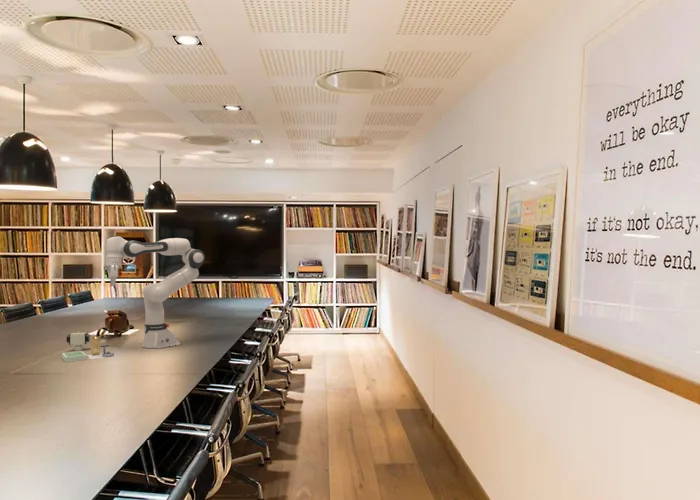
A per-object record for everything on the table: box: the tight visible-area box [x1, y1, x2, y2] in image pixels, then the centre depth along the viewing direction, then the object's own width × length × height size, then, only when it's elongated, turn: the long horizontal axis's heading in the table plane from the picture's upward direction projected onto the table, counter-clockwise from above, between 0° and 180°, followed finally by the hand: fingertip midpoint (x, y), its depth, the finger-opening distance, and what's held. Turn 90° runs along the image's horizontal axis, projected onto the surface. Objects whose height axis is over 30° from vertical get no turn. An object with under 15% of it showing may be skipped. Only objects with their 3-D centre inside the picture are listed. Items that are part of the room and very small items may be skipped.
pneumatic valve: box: [66, 330, 91, 352], centre depth 289 cm, size 6×12×12 cm, turn 107°
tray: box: [61, 350, 88, 363], centre depth 267 cm, size 10×12×4 cm
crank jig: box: [86, 344, 117, 360], centre depth 276 cm, size 13×12×7 cm
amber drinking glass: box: [91, 336, 101, 355], centre depth 277 cm, size 4×4×10 cm
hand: (112, 286), depth 291 cm, fingers open, 8 cm apart
